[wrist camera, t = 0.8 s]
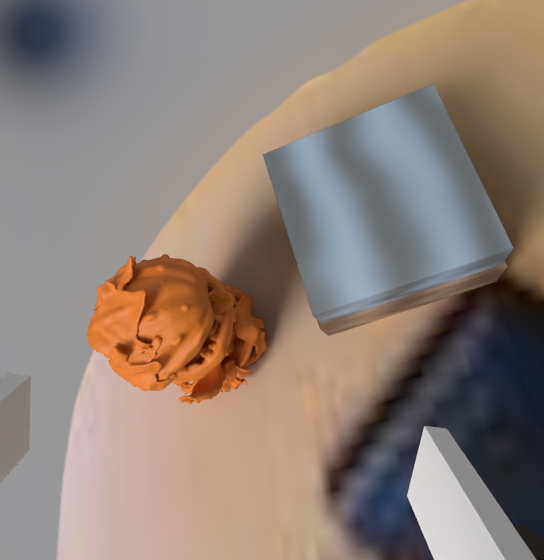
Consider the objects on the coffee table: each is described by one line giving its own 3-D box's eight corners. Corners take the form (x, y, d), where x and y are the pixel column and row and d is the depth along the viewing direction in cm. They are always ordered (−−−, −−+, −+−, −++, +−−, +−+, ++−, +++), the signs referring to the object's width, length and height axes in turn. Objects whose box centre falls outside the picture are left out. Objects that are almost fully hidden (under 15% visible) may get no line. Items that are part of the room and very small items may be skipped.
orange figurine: (295, 383, 41) (219, 373, 24) (187, 413, 43) (48, 423, 26) (266, 271, 44) (182, 193, 28) (168, 304, 46) (34, 251, 30)
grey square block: (430, 137, 43) (436, 79, 35) (496, 281, 38) (520, 250, 30) (284, 195, 46) (258, 152, 38) (328, 335, 41) (310, 320, 33)
